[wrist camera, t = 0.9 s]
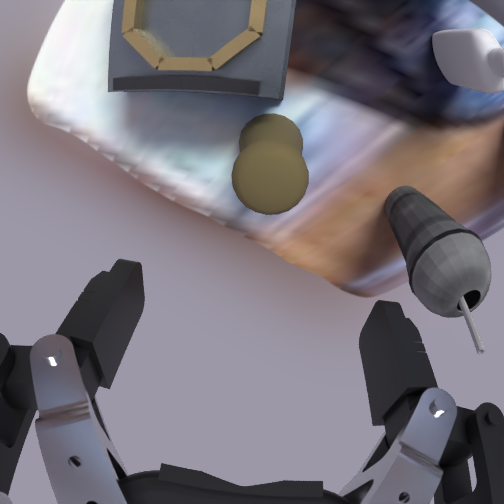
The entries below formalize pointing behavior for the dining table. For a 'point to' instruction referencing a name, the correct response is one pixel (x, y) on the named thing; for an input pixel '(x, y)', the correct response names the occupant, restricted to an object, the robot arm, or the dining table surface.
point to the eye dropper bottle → (470, 59)
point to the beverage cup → (440, 257)
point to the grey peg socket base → (201, 46)
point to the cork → (270, 165)
